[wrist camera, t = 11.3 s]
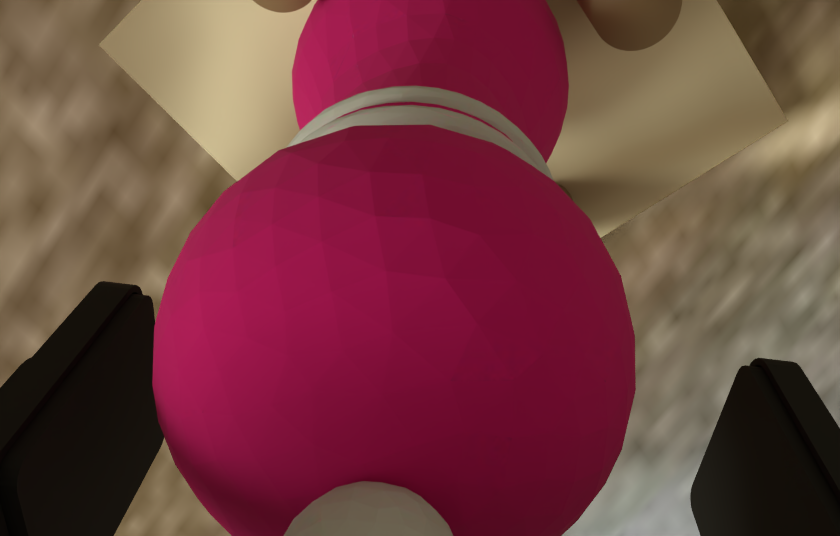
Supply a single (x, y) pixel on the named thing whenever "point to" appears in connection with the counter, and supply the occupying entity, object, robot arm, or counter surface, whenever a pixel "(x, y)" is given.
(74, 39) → the counter surface
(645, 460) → the counter surface
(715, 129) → the peg board
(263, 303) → the magenta skittle
